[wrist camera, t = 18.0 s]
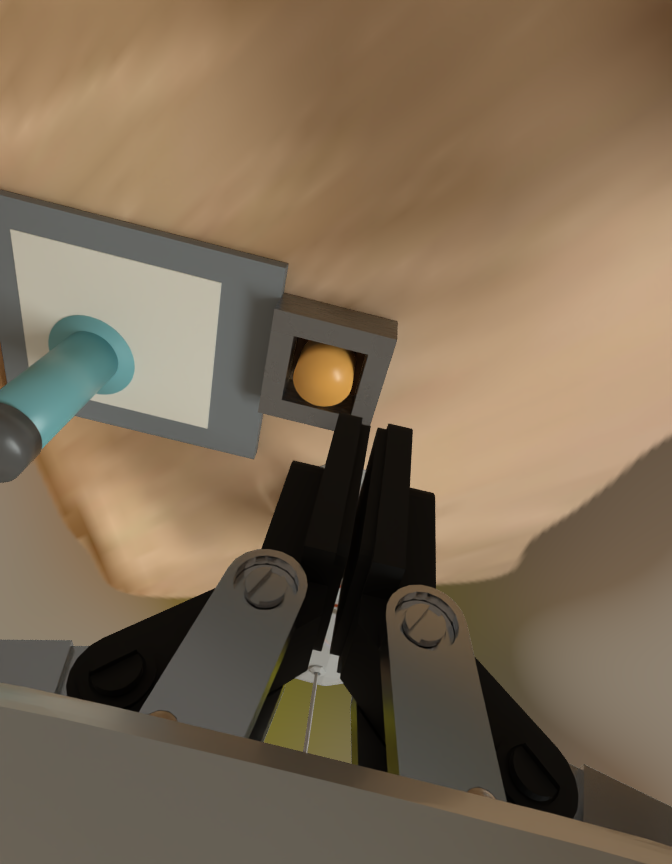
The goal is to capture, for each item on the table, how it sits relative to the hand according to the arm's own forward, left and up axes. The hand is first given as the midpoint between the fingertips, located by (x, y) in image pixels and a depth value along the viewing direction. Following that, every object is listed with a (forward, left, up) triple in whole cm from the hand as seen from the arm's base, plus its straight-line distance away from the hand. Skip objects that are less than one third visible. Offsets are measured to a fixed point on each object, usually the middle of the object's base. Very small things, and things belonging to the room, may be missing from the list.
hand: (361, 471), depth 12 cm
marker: (+19, +14, -23) cm, 33 cm away
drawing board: (+16, +12, -25) cm, 32 cm away
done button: (+2, +10, -24) cm, 26 cm away
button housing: (+2, +10, -25) cm, 27 cm away
